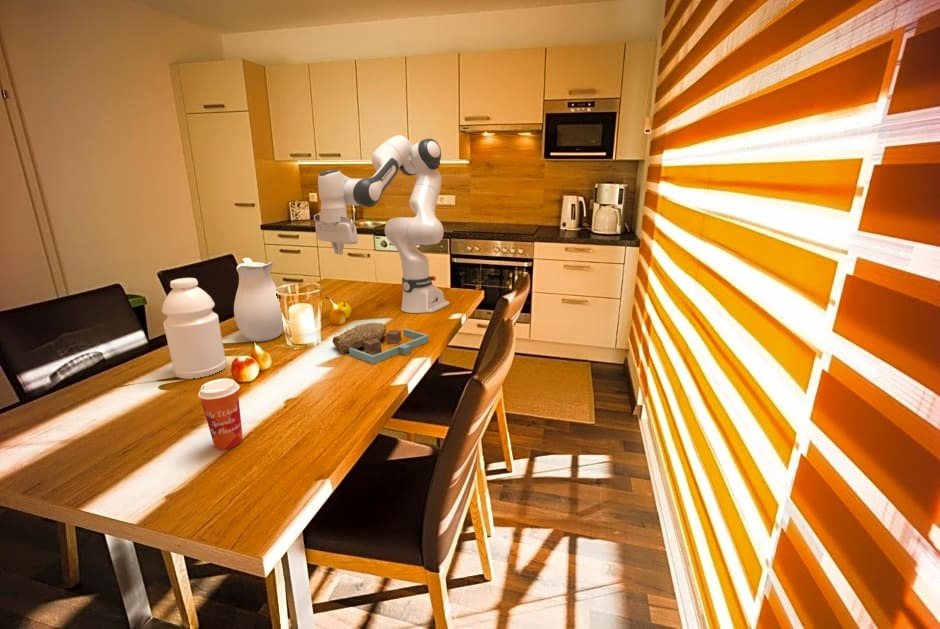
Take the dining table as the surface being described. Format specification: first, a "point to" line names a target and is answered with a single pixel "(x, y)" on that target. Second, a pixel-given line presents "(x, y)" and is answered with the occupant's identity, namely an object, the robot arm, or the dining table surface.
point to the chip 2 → (393, 336)
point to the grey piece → (400, 349)
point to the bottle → (192, 331)
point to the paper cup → (222, 412)
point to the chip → (372, 346)
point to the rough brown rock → (359, 336)
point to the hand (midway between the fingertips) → (338, 254)
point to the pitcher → (257, 302)
